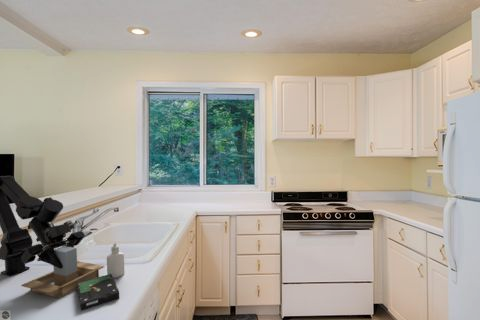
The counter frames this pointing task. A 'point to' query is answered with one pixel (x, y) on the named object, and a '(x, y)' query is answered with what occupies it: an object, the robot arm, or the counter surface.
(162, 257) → the counter surface
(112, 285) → the disk drive
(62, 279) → the box
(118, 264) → the eye dropper bottle
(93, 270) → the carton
